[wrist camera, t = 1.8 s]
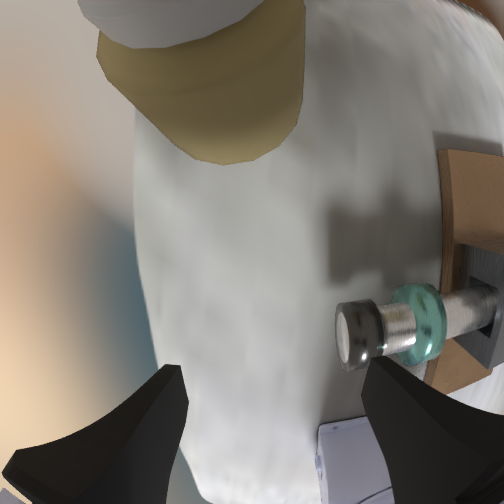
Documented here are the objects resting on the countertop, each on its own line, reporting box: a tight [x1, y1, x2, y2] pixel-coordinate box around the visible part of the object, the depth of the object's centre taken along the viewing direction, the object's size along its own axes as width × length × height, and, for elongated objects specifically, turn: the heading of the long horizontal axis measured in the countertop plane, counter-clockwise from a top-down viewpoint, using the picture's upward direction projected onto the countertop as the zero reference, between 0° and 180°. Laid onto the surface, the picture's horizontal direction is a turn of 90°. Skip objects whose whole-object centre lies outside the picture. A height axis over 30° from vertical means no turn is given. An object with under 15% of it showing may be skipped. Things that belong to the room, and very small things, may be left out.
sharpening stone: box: [424, 149, 504, 395], centre depth 14 cm, size 10×22×7 cm, turn 6°
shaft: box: [335, 282, 500, 371], centre depth 14 cm, size 15×5×5 cm, turn 96°
